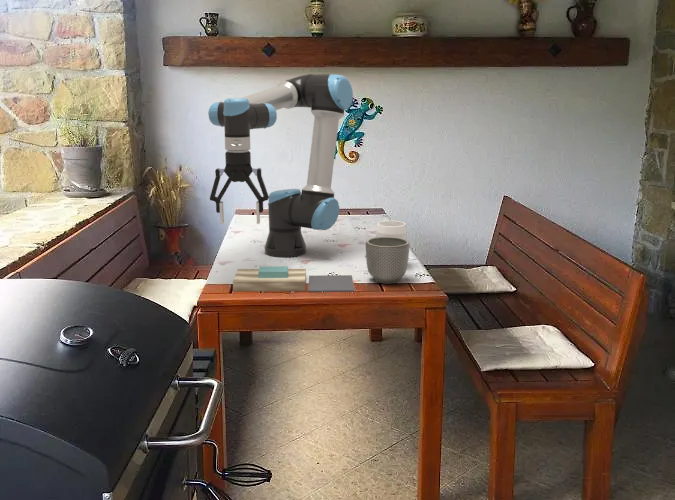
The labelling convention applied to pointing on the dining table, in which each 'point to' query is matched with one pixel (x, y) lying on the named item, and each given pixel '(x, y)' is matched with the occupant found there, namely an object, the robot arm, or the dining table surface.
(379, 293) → the dining table surface
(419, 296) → the dining table surface
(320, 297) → the dining table surface
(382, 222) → the white vase
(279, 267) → the teal foam pad
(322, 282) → the mat
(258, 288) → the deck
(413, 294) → the dining table surface
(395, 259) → the planter
